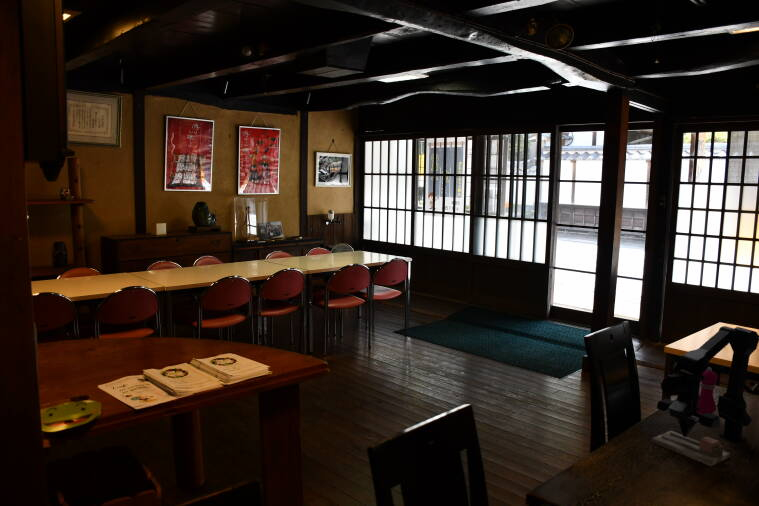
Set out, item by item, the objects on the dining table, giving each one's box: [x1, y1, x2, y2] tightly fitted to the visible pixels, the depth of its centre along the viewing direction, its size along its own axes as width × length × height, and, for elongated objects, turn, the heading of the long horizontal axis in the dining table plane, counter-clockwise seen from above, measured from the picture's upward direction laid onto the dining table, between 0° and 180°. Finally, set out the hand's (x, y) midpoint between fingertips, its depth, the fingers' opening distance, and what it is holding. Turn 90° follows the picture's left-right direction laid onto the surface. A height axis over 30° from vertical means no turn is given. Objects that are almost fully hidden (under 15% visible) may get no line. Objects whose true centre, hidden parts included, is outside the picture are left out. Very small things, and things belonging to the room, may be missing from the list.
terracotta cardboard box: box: [699, 436, 720, 454], centre depth 194 cm, size 4×4×4 cm
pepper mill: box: [697, 366, 718, 414], centre depth 226 cm, size 7×7×20 cm
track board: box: [651, 430, 731, 467], centre depth 199 cm, size 12×20×4 cm, turn 34°
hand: (685, 436), depth 200 cm, fingers closed
